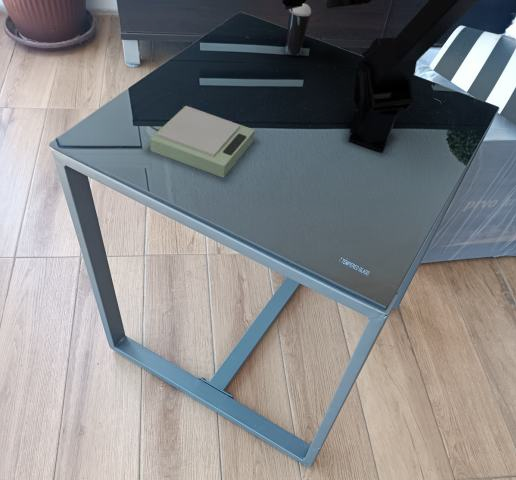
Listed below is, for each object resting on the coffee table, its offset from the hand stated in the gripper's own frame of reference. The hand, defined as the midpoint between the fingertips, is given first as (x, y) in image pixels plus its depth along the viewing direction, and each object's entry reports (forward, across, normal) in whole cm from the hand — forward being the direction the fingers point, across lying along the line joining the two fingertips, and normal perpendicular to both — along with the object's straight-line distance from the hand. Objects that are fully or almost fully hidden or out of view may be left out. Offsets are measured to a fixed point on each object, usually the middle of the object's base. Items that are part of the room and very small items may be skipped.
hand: (307, 5), depth 97 cm
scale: (-12, +30, +25) cm, 41 cm away
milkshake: (+9, 0, +5) cm, 11 cm away
